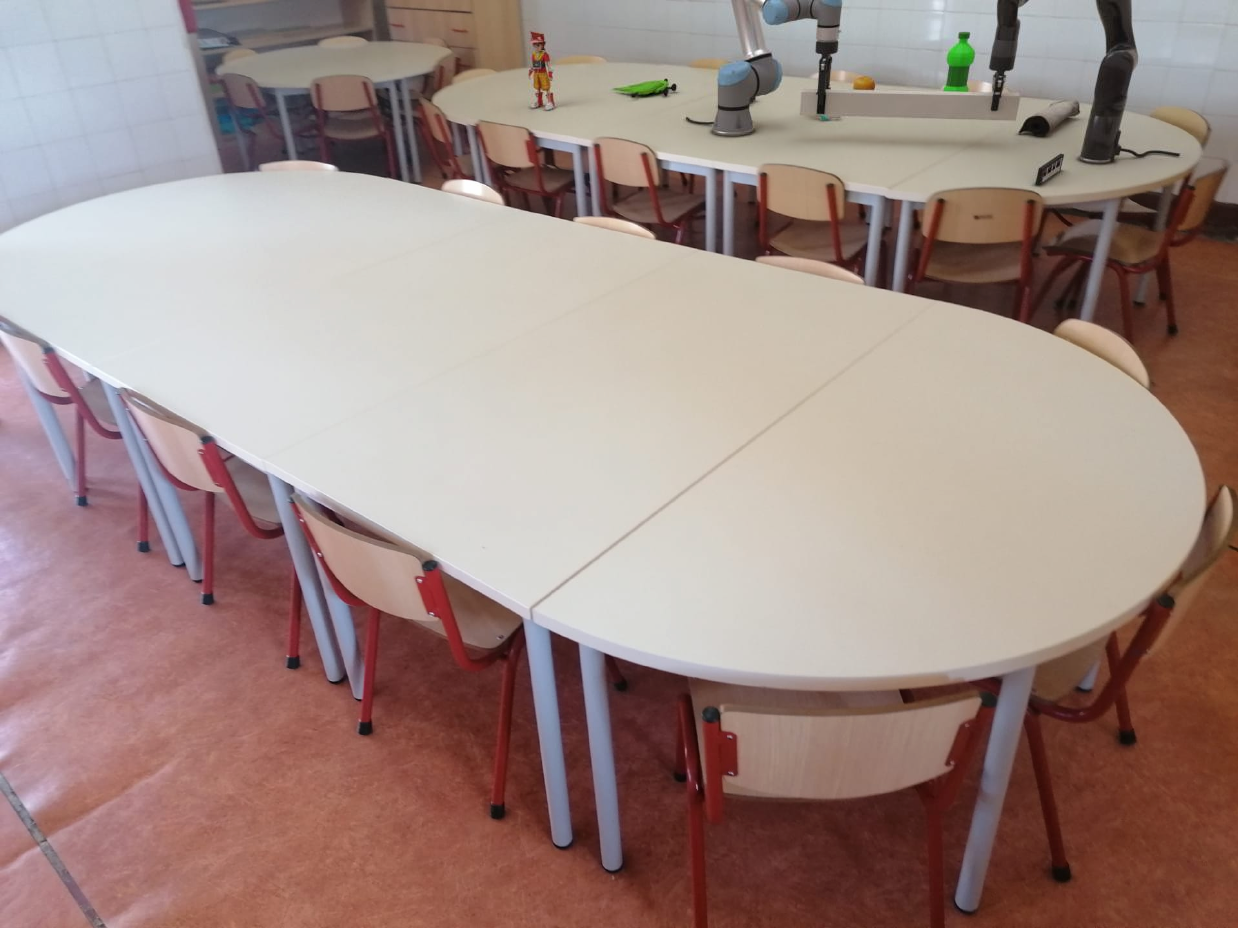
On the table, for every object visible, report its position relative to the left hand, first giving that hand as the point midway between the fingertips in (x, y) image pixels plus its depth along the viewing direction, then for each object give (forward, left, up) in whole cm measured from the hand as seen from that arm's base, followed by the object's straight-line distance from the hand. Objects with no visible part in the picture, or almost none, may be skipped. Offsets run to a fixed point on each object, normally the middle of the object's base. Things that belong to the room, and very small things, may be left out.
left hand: (821, 111), depth 317 cm
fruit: (-6, +67, -9) cm, 68 cm away
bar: (+28, +6, -1) cm, 28 cm away
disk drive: (-50, +38, -9) cm, 63 cm away
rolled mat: (+70, +42, -9) cm, 82 cm away
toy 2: (-99, +44, -9) cm, 109 cm away
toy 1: (-126, +7, -9) cm, 127 cm away
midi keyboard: (+80, -18, -9) cm, 82 cm away
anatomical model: (-10, +30, -9) cm, 33 cm away
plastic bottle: (+31, +66, -9) cm, 74 cm away
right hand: (+56, +12, +2) cm, 57 cm away
